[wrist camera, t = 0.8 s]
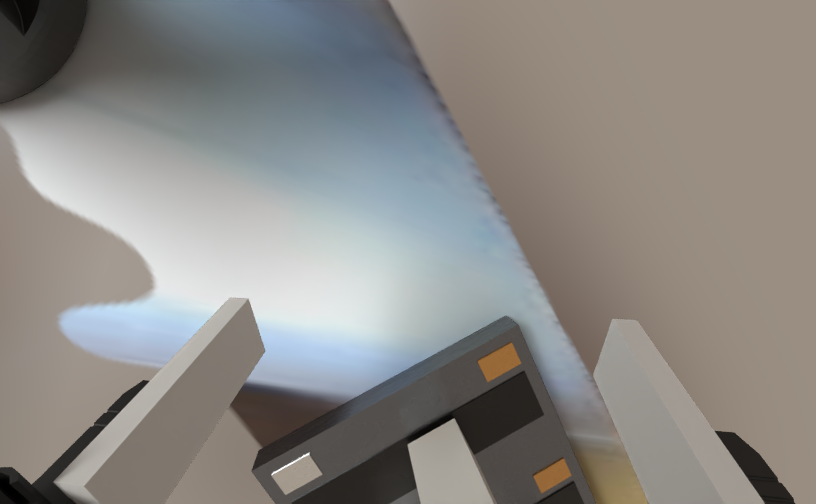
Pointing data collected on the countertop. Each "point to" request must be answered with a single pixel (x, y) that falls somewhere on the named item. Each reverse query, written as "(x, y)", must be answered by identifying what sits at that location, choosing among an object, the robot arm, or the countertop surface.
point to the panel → (425, 411)
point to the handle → (448, 468)
